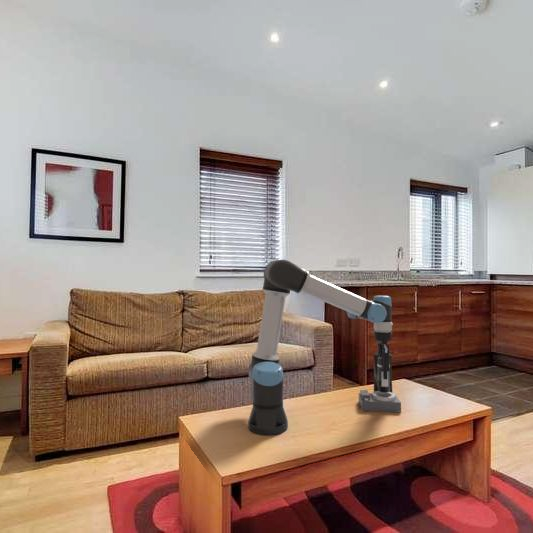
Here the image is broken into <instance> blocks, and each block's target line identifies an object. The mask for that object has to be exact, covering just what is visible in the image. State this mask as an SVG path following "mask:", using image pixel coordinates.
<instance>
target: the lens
mask: <svg viewBox="0 0 533 533" xmlns="http://www.w3.org/2000/svg"><path fill="white" fill-rule="evenodd" d="M377 366H378V391H380V392H390V361H389V371H388V387H382V378H381V371H380V370H382V361H381V357H378V363H377Z"/></svg>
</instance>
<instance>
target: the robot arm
mask: <svg viewBox="0 0 533 533" xmlns="http://www.w3.org/2000/svg"><path fill="white" fill-rule="evenodd" d="M262 284H263V285H262V291H263V293H264V294H265V296H264V302H263V308H262V313H261V314H262V316H261V319H260V320H261V321H260V326H259V333H258V339H257V340H258V341H257V346H256V351H254V352H253V353H252V354H251V361H250V364H249V365H248V369H247V370H248V371H247V372H248V373H247V374H248V378H249V380H250V383H251V385H252V408H251V412H250V415H249V419H248V423H247V425H248V427H247V429H248V430H249V431H251V432H252V433H254V434H257V435H263V436H265V435H266V436H272V435H278V434H283V433H284V432H285V431H287V430H288V427H289V423H288V417H287V414H286V411H285V408H284V371H283V370H284V368H283V367H282V366H281V365H280V356H279V355H278V347H279V341H280V335H281V329H282V322H283V318H284V317H283V316H284V308H285V303H286V298H287V297H288V296H289V295H290V293H291V292H294V293H296V294H300V293H303V294H306V295H307V296H310V297H312V298H315V299H316V300H317V299H318V301H319V300H320V301H322V302H324V303H327V304H330V305H331V306H333V307H336V308H338V309H341V310H343V311H346V314H347V317H348V318H349V319H362V320H364V321H368V322H371V323H373V330H374V332H373V339H374V340H375V341H377V343H376V344H377V352H378V357H381V361H382V370H380V371H381V378H382V387H388V371H389V353H390V347H389V344H388V342H391V341H392V340H393V332H392V331H393V327H392V326H394V323H393V318H392V316H393V313H392V310H393V308H392V307H393V306H392V297H391V296H389V295H374V296H373V299H371V300H369V299H367V298H364V297H362V296H360V295H357V294H355V293H353V292H351V291H348V290H346V289H344V288H341V287H340V286H336V285H335V284H332V283H331V282H327V281H325V280H323V279H321V278H318V277H316V276H314V275H312V274H310V272H309V270H307V269H304V268H303V267H301V266H299V265H298V264H295V263H293V262H291V261H290V260H288V259H276V260H273V261H270V262H269V263H267V264H266V267H265V268H264V270H263V283H262Z"/></svg>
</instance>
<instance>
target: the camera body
mask: <svg viewBox="0 0 533 533" xmlns="http://www.w3.org/2000/svg"><path fill="white" fill-rule="evenodd" d="M359 391H360V392H358V404H359V406H360V409H361V411H363V412H383V413H384V412H390V413H391V412H392V413H402V402H401V401H400V399H399V397H398V396H397V395H396V394H395V393H393V392H392V393H391V392H380V391H374V390H373V392H370V393H369V391H368V390H367V389H360V390H359Z"/></svg>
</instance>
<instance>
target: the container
mask: <svg viewBox="0 0 533 533" xmlns="http://www.w3.org/2000/svg"><path fill="white" fill-rule="evenodd" d="M372 357H373V392H374V391H378V366H377V363H378V351H377V352H374V353H373V354H372ZM392 358H393V355H392V354H391V353H390V352H389V361H390V392H391V393H393V377H392V376H393V375H392V370H393V369H392Z"/></svg>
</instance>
